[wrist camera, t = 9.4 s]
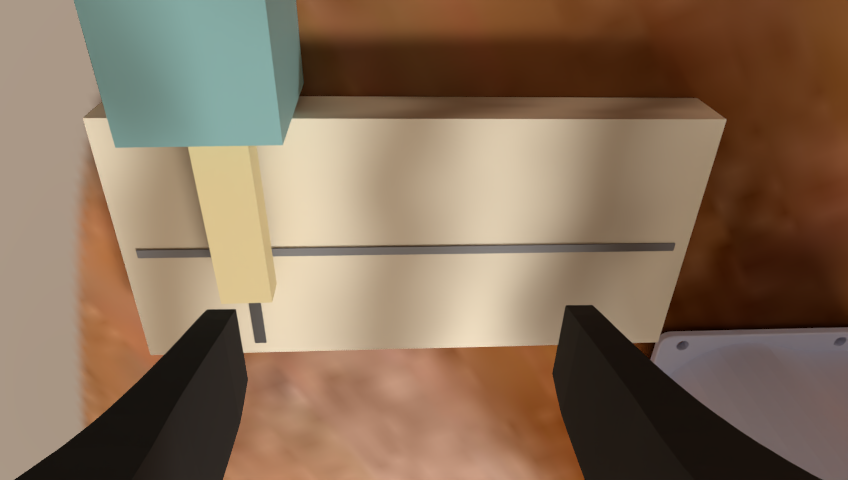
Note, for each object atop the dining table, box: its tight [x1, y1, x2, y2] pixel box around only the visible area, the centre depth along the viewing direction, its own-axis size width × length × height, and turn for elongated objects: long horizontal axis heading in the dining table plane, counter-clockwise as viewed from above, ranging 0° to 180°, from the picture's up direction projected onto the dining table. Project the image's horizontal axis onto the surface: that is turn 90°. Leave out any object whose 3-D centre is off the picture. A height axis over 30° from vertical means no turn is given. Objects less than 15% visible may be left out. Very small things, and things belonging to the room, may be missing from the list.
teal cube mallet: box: [74, 0, 304, 304], centre depth 17 cm, size 4×10×5 cm, turn 179°
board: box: [83, 96, 727, 355], centre depth 21 cm, size 19×9×2 cm, turn 88°
